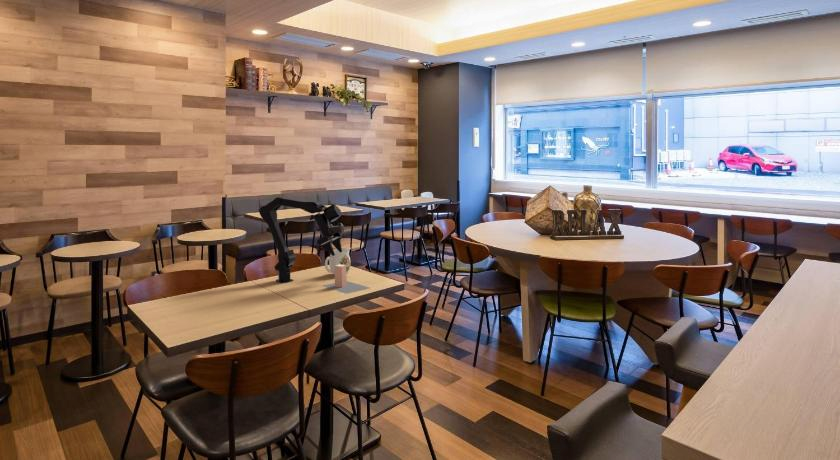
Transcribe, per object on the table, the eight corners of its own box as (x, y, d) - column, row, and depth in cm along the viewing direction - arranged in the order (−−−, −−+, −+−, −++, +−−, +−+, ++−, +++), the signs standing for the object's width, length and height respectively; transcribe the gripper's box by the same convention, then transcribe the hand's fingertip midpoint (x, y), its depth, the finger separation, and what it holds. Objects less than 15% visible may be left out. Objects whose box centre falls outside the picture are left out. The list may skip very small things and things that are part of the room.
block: (334, 286, 242) (334, 265, 240) (339, 284, 245) (338, 264, 244) (342, 287, 240) (341, 266, 239) (346, 285, 244) (346, 264, 242)
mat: (322, 286, 244) (321, 285, 244) (345, 281, 253) (345, 280, 253) (346, 294, 229) (346, 293, 229) (371, 288, 239) (371, 287, 239)
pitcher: (318, 277, 262) (317, 251, 260) (344, 271, 276) (343, 246, 274) (333, 280, 256) (332, 253, 254) (358, 273, 270) (357, 248, 268)
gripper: (329, 220, 235) (344, 250, 235) (344, 215, 253) (358, 243, 253) (309, 230, 238) (324, 260, 238) (326, 225, 256) (339, 252, 256)
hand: (337, 253), depth 247 cm, fingers open, 9 cm apart
